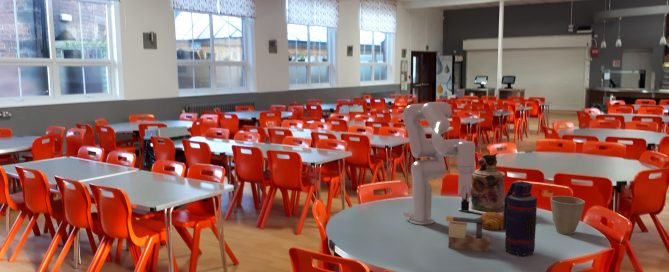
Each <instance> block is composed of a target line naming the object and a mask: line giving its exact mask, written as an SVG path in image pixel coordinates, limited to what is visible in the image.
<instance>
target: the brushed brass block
mask: <svg viewBox="0 0 669 272" xmlns="http://www.w3.org/2000/svg"><path fill="white" fill-rule="evenodd" d="M448 222H449V223H448V238H449V237H455V238H465V237H466V235H467V227H468V226H467V224H468V222H457V221H448Z"/></svg>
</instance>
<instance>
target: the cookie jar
mask: <svg viewBox="0 0 669 272" xmlns="http://www.w3.org/2000/svg"><path fill="white" fill-rule="evenodd" d="M497 163H498V160H497V152H495V153H494V154H484V155H482V156H481V158H479V160H478V161H477V164H478V166H480V167H479V168H478V169H475V173H473V174H472V183H471V192H470V201H469V210H468V211H467V212H470V213H474V214H480V215H482V214H484V213H486V212H497V213H498V214H500V215H503V214H504V198H505V196H506V192H505V183H504V179H505V177H506V173H505V172H503V171H500V170H498V169H497ZM458 211H464V210H461V207H460V208H458ZM464 212H465V211H464Z"/></svg>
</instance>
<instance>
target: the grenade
mask: <svg viewBox="0 0 669 272" xmlns="http://www.w3.org/2000/svg"><path fill="white" fill-rule="evenodd" d="M532 187H533V184H531V183H530V182H528V181H523V180H520V181H514V182H511V183H510V185H509V187H508V190H507V192H506V193H505V198H504V214H503V229H504V230H505V233H504V234H505V235H504V236H505V237H504V250H505V251H506V253H512V254H516V255H517V257H525V255H530V254H531V255H532V254H534V252H535V246H536V229H537V228H536V225H537V209H538V208H537V206H538V197H536V196H534V195H533V194H532V193H531V191H532Z"/></svg>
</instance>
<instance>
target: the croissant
mask: <svg viewBox="0 0 669 272" xmlns="http://www.w3.org/2000/svg"><path fill="white" fill-rule="evenodd" d="M478 218H481V219H483V224H482V229H484V230H489V231H490V230H491V231H503V230H504V231H505V229H503V215H500V214H498V213H497V212H486V213H484V214H480V216H479V217H478Z"/></svg>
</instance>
